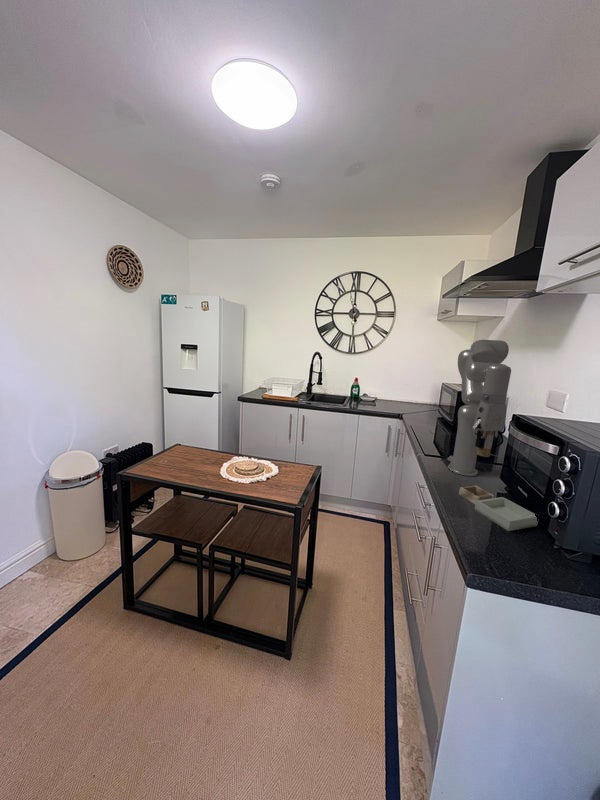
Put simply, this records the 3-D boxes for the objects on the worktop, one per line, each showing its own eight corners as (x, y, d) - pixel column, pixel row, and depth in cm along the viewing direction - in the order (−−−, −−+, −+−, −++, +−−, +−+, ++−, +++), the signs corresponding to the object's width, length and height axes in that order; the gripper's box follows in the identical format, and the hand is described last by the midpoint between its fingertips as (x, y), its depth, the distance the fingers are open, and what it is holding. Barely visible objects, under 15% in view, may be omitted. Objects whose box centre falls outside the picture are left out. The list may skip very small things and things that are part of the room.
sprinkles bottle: (473, 452, 118) (479, 418, 116) (484, 453, 119) (490, 419, 116) (481, 457, 114) (488, 422, 111) (493, 457, 114) (499, 422, 112)
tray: (474, 509, 111) (476, 500, 110) (501, 505, 115) (503, 497, 114) (508, 531, 99) (510, 521, 98) (536, 525, 103) (539, 516, 102)
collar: (458, 494, 122) (459, 487, 121) (474, 492, 125) (475, 485, 124) (476, 505, 114) (477, 497, 114) (492, 502, 117) (494, 495, 116)
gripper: (484, 401, 106) (475, 452, 109) (520, 401, 111) (510, 449, 115) (466, 397, 113) (458, 444, 116) (501, 397, 118) (492, 442, 122)
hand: (484, 446), depth 116 cm, fingers closed on sprinkles bottle, 4 cm apart
